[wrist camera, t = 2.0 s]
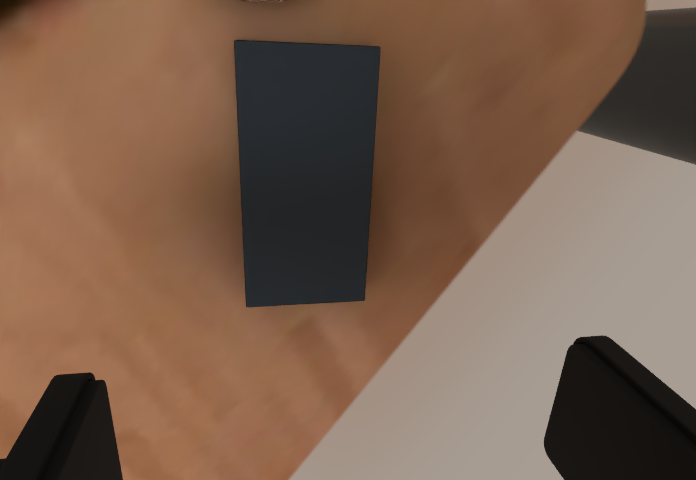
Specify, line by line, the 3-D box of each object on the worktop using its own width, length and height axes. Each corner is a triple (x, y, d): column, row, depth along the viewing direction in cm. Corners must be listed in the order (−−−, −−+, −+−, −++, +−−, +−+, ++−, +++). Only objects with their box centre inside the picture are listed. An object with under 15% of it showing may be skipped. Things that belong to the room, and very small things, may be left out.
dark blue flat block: (371, 46, 23) (380, 46, 21) (358, 285, 28) (364, 301, 26) (235, 39, 22) (234, 40, 20) (246, 291, 27) (246, 307, 25)
